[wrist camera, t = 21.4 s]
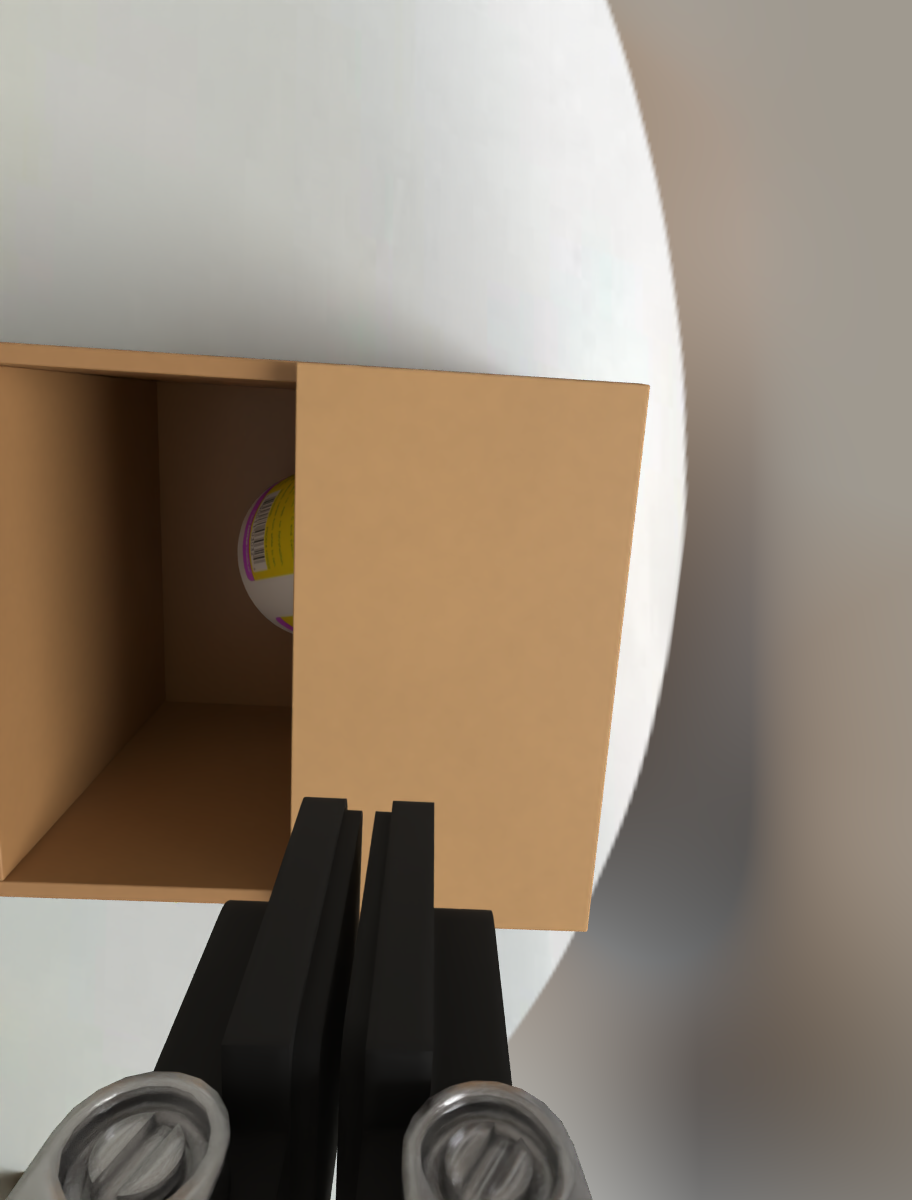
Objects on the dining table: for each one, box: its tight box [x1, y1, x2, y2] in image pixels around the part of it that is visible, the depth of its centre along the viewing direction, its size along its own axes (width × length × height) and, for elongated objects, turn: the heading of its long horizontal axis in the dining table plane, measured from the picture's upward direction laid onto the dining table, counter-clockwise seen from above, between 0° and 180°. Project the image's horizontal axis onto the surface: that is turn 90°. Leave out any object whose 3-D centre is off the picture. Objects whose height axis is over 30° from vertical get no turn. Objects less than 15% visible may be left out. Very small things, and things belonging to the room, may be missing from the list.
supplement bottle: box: [238, 474, 295, 634], centre depth 27 cm, size 7×7×13 cm
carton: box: [0, 342, 639, 904], centre depth 28 cm, size 17×15×14 cm
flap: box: [290, 362, 650, 932], centre depth 20 cm, size 8×15×1 cm, turn 177°
